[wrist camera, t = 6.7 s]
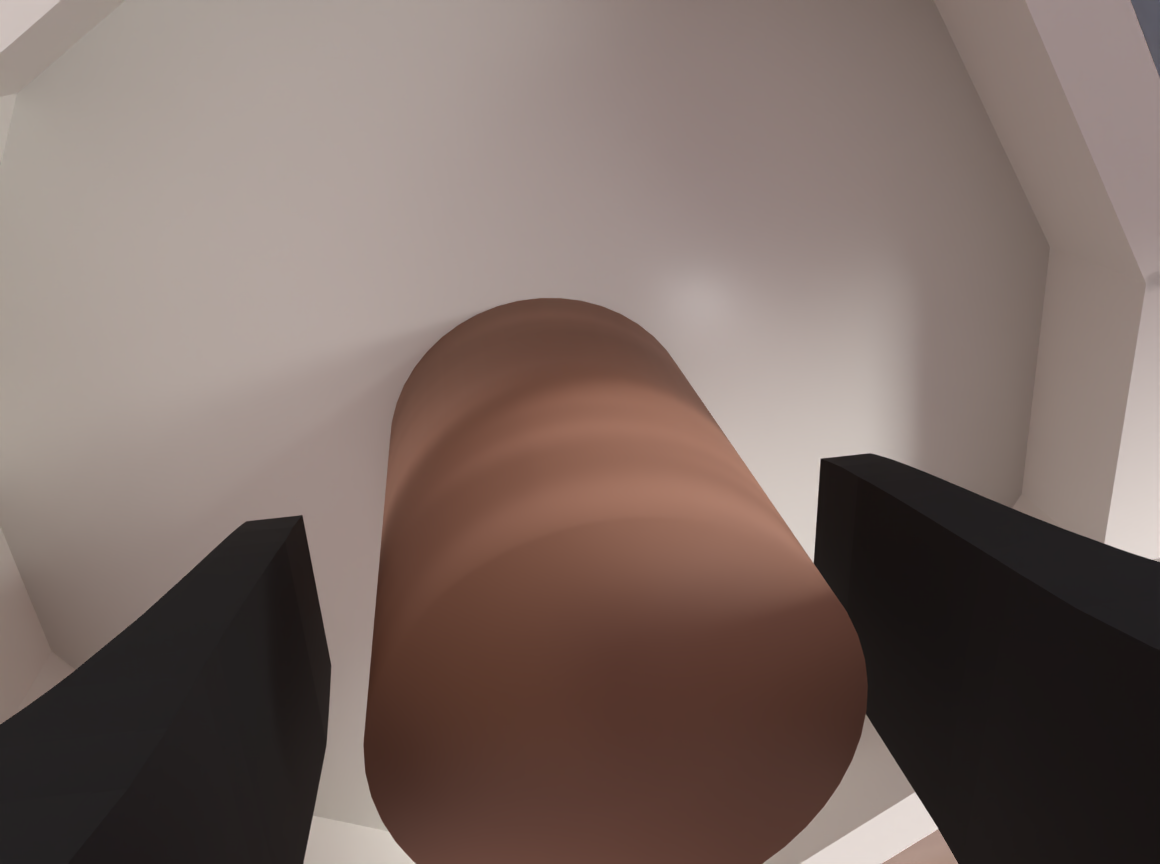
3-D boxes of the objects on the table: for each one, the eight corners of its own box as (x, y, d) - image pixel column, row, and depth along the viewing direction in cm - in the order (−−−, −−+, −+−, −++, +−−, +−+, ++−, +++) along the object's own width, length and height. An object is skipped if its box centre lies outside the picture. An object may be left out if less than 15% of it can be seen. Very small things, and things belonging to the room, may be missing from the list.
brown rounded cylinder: (567, 230, 12) (676, 407, 7) (752, 454, 14) (952, 733, 9) (322, 437, 13) (247, 746, 8) (527, 626, 15) (585, 983, 9)
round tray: (715, -646, 10) (808, -860, 7) (1217, 497, 17) (1347, 578, 14) (-410, 346, 12) (-618, 430, 9) (451, 984, 19) (454, 1124, 16)
